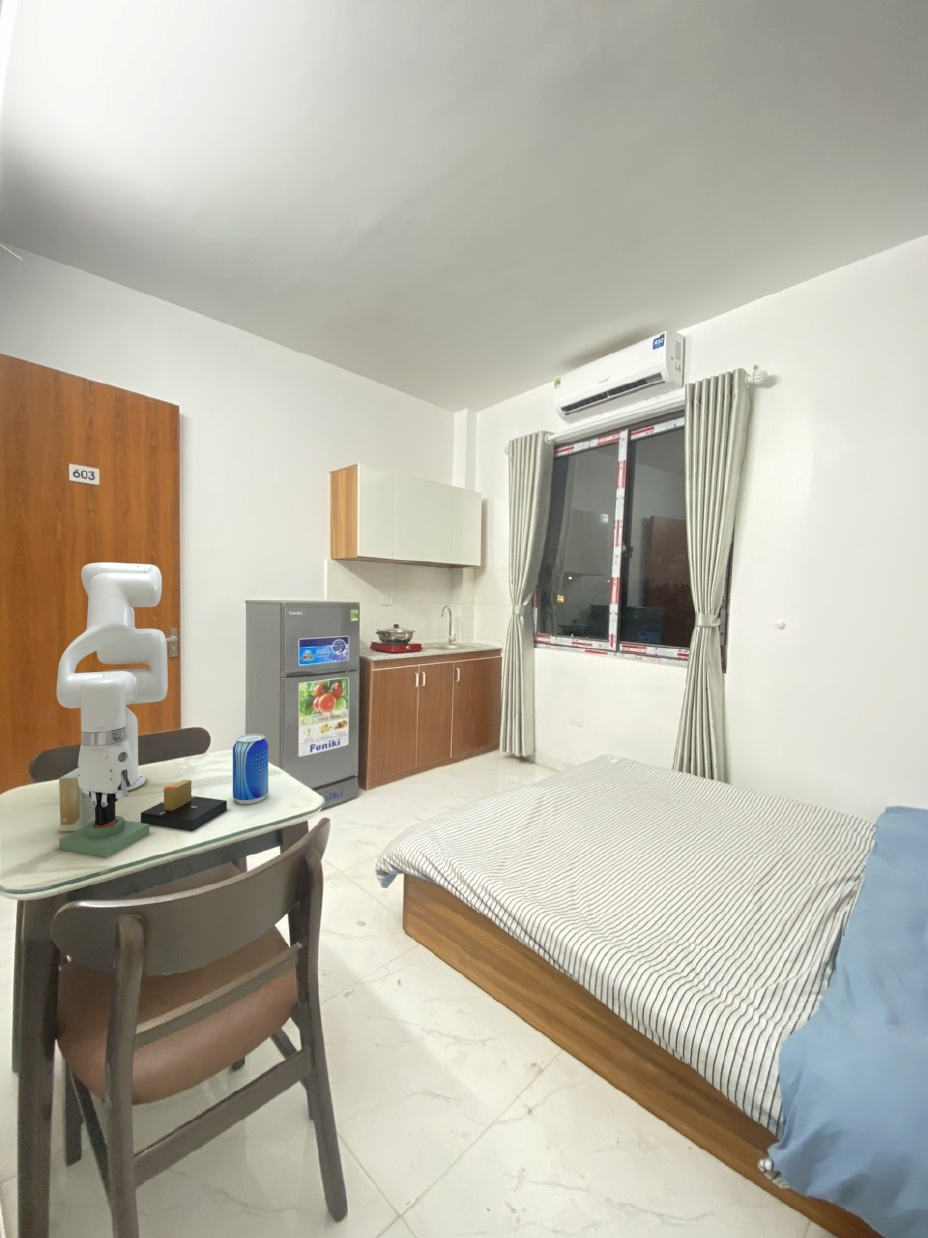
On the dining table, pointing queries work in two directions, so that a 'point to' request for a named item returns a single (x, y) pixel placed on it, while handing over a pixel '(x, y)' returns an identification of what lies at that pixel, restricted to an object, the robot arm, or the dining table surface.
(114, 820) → the button
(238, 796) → the beer can
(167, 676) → the robot arm
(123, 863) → the dining table surface
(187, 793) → the tap handle
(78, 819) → the cosmetic box
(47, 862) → the dining table surface
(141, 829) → the button block
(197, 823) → the base
